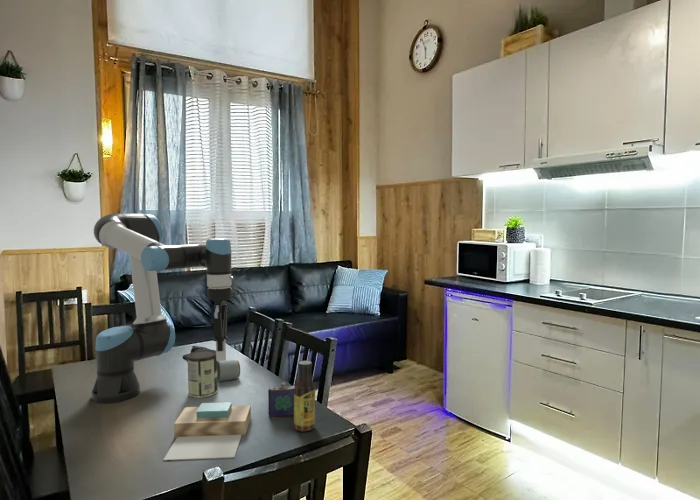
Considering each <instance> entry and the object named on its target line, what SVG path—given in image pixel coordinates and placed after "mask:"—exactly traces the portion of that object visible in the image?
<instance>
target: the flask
mask: <svg viewBox="0 0 700 500" xmlns="http://www.w3.org/2000/svg"><path fill="white" fill-rule="evenodd" d="M267 392H268V397H267V398H268V405H267V406H268V407H267V408H268V412H267V413H268V417H269V418H272V419H278V418H279V419H280V418H288V417H294V393H295V385H289V386H286V382H285V381H282V382H281V384H280V385H279V386H276V387H275V386H274V385H273V387H269V388H268V391H267Z"/></svg>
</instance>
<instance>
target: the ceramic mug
mask: <svg viewBox="0 0 700 500" xmlns="http://www.w3.org/2000/svg"><path fill="white" fill-rule="evenodd" d="M240 375H241V364H240V362H239V360H235V359H229V360H228V359H226V360H225V361H218V362H217V382H224V381H229V380H230V381H231V380H235V379H236V380H237V379H238V378H240Z"/></svg>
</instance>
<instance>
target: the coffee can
mask: <svg viewBox="0 0 700 500" xmlns="http://www.w3.org/2000/svg"><path fill="white" fill-rule="evenodd" d="M213 350H214V349H211V350H200V351H195V352H192V353H191V352H190V353H187V354H188V355H187V359H188V360H187V380H188V381H187V382H188V383H187V384H188V386H187V387H188V388H187V389H188V393H187V395H188V396H189V397H191V398H195V399H199V398H200V399H202V398H206V397H207V398H208V397H211V396H214V395H215V394H217V393H218V392H219V389H218V388H219V386H218V383H219V381H218V380H217V361H216V351H213Z"/></svg>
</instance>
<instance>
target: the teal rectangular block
mask: <svg viewBox="0 0 700 500" xmlns="http://www.w3.org/2000/svg"><path fill="white" fill-rule="evenodd" d="M232 403H233V402H231V401H229V402H226V401H224V402H201V404H200V405H199V406H198V407H199V408H198V410H197V418H220V417H228V416H229V414H230V411H231V409H232V406H233V405H232Z"/></svg>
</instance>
